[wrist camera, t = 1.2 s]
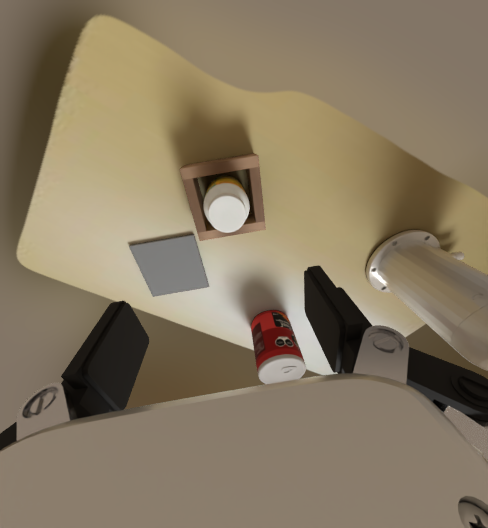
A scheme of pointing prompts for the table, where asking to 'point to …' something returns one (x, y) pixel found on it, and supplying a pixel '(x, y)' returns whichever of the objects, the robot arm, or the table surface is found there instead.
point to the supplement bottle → (226, 204)
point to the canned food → (276, 348)
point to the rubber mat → (170, 265)
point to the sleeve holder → (216, 167)
